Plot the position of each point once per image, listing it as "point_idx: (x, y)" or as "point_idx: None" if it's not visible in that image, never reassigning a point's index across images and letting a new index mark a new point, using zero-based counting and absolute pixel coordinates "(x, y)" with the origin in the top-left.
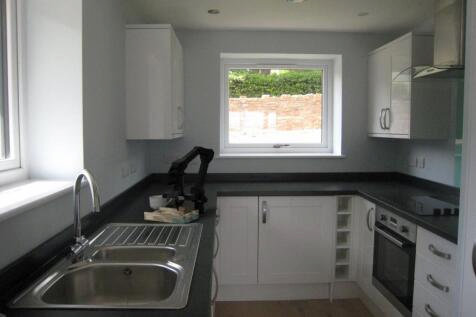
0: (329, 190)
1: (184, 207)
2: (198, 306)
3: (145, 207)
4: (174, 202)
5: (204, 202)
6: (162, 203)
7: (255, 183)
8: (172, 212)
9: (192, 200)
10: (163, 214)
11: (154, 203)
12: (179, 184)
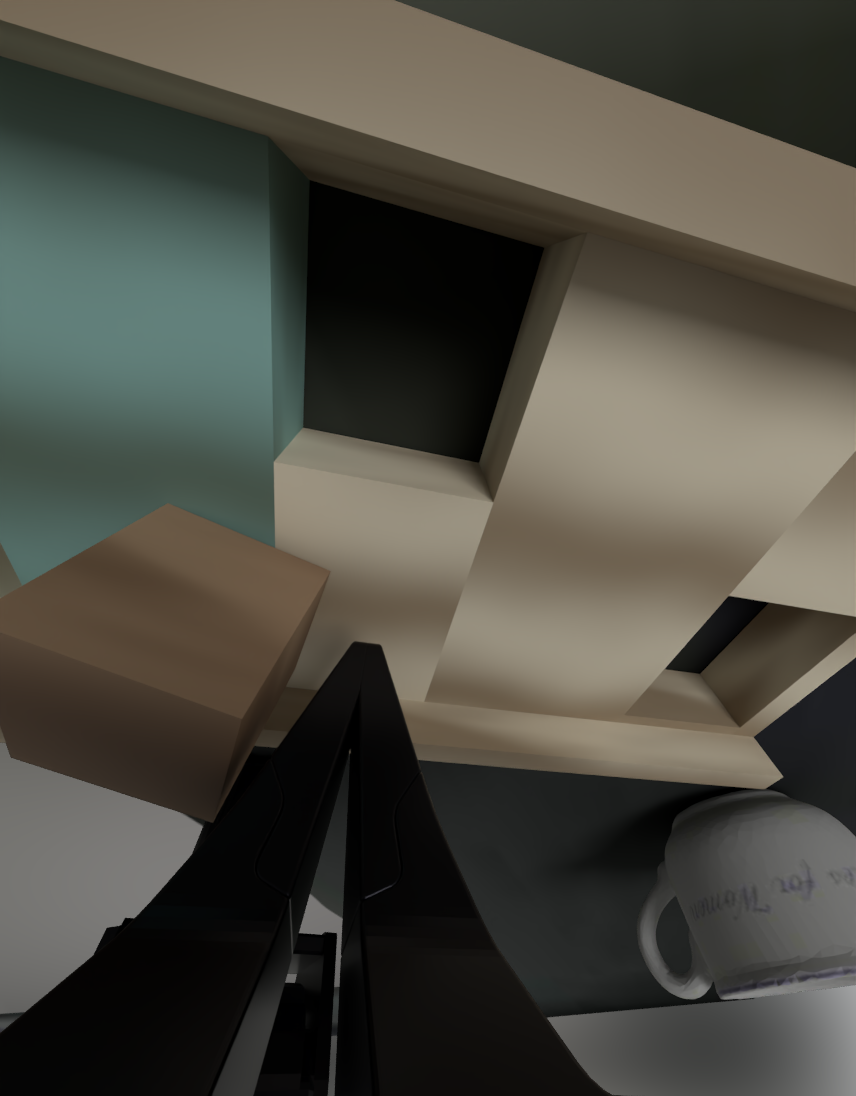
0: None
1: (62, 706)
2: None
3: (851, 815)
4: (459, 911)
5: (106, 941)
6: (728, 873)
7: (337, 1022)
8: (517, 659)
9: (319, 964)
10: (715, 118)
11: (837, 863)
12: None
